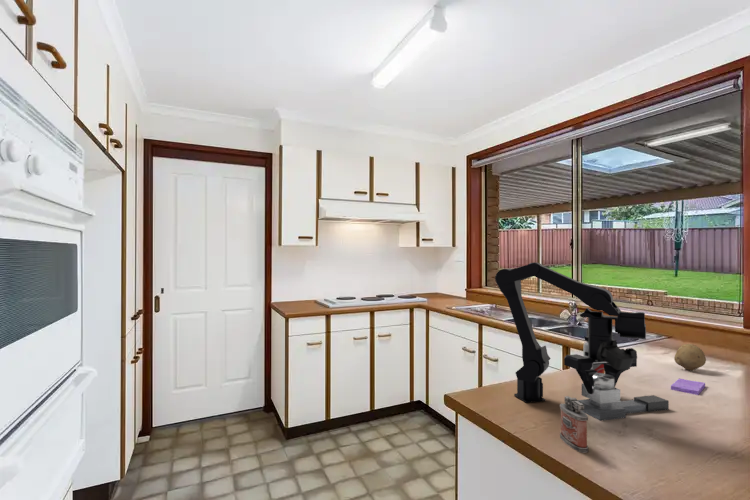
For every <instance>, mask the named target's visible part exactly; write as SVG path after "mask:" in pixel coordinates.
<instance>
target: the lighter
mask: <svg viewBox="0 0 750 500" xmlns="http://www.w3.org/2000/svg"><path fill="white" fill-rule="evenodd" d="M577 400H578V399H577V397H571V396H569V395H564V403H560V404H559V408H560V432H559V438H560V439H561V440H562V441H563V442H564V444H565V445H567V446H568V447H570V448H571V449H573V450H575V451H577V452H579V453H588V452H589V447H588V421H589V415H588V414H586V413H584V412H583V411H584V405H583V404H582V403H580V402H578V401H577Z"/></svg>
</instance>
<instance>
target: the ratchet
mask: <svg viewBox="0 0 750 500" xmlns="http://www.w3.org/2000/svg"><path fill="white" fill-rule="evenodd" d="M577 401H578V402H580V403H582V404H583V405H584V411H583V412H584V413H585V414H586V415H587V416H590V417H592V418H594V419H596V420H597V421H599V422H602V420H603V421H611V420H619V419H626V415H628V414H636V413H637V414H638V413H639V414H640V413H653V412H654V413H655V412H664V411H670V410H669V409H670V408H669V405H670V404H669V400H668V399H665V398H662V397H660V396H658V395H654V394H653V395H652V394H651V395H643V396H642V395H641V396H634V397H633V399H630V400H629V399H628V400H620V402H612V403H602V404H600V403H598V402H596V401H593V400H591V399H589V398H586V399H577Z"/></svg>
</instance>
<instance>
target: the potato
mask: <svg viewBox="0 0 750 500" xmlns="http://www.w3.org/2000/svg"><path fill="white" fill-rule="evenodd" d="M673 359H674V362H675V363H676V364H677V365H678V366H679V367H682V368H684V369H685V370H687V371H691V372H693V371H696V370H697V369H699V368H702V367H703V366H704V365H705V364H706V361H707V358H706V354H705V352H704V350H702V349H701V348H700V347H699V346H697V345H695V344H692V343H685V344H682V345H680V347H679V348H678V349H677V350H676V353H675V354H674V358H673Z"/></svg>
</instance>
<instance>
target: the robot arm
mask: <svg viewBox="0 0 750 500" xmlns="http://www.w3.org/2000/svg"><path fill="white" fill-rule="evenodd" d="M533 277H535V278H537V279H540V280H542V281H544V282H546V283H548V284H550V285H552V286H554V287H557V288H559V289H560V290H562V291H565V292H567V293H568V294H571V295H573V296H575V297H576V298H577V299H578V300H580V302H582V303H583V304H585V305H586V306H588V307H585V309H584V311H582V313H580V315H579V316H580V318H587V322H588V323H587V329H588V337H587V336H584V341H586V342H587V341H588V351H587V352H585V356H588V358H587V357H584V355H581V354H578V353H575V354H566V356H564V359H563V361H564V362H563V365H564V366H567V367H570V368H571V369H574V370H575V371H576V372H577V374H578V376H579V377H580V380H581V381H582V383H583V384H584V386H585V388H586V390H587V392H588V393H589V394H592V391H593V375H594V374H595V373H596V372H597V371H596V370H593V365H596V364H604V370H605V374H608V375H611V376H613V377H614V387H615V388H616V385H617V383H618V381H619V378H620V376H621V375H622V373H624V372H626V371H629V370H630V369H631V368H633V367H634V368H637V366H638V365H637V362H638V361H637V360H638V354H637V353H638V352H637V350H636V349H634V348H632V347H630V348H620V347H618V342H617V340H616V339H613V321H614V333H617V335H619V337H620V338H627V339H628V338H629V339H637V340H638V339H639V340H646V339H647V325H646V318H645V315H646V313H645V312H644V311H643V312H640V311H637V312H633V311H632V312H631V311H630V312H629V311H622V310H621V309H620V307H618V306H617V303H615V302H614V297H613V294H612V292H611V291H610V290H608V288H607V289H606V288H604V287H600V286H596V285H593V284H590V283H589V284H588V283H584V282H581V281H579V280H576V279H575V278H572V277H569V276H567V275H565V274H562V273H560V272H558V271H556V270H553V269H551V268H549V267H547V266H545V265H543V264H542V263H540V262H537V261H536V262H530V263H528V264H525V265H522V266H519V267H516V268H504V269H500V270H498V271H497V273H496V274H495V277H494V279H495V283H496V285H497V287H498V288H499V290H500V292H501V293H502V295H503V296H504V298H505V299H506V301H507V303H508V307H509V311H510V312H511V315H512V319H513V321H514V325H515V328H516V331H517V333H518V337H519V341H520V343H521V358H522V363H523V366H521V367H520V368H519V369H518V370H517V371H515V376H516V386H517V387H516V389H517V390H516V392H517V393H514V394H513V396H515V397H516V398H517V399H519V400H520V401H522V402H524V403H527V404H529V403H539V402H546V399H545V398H544V383H543V378H541V376H542V375H543V374H544V373H545V372H546V371H547V370H548V368H549V366H550V360H551V357H550V356H549V354H548V349H547V346H546V345H543V346H541V345H540V343H539V342H538V340H537V337H536V335H535V332H534V329H533V326H532V323H531V320H530V317H529V314H528V312H527V308H526V305H525V302H524V299H523V296H522V281H525V280H527V279H530V278H533ZM591 309H592V310H594V311H592V310H591ZM604 313H605V314H607V315H605V314H604ZM595 360H598V361H595Z"/></svg>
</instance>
